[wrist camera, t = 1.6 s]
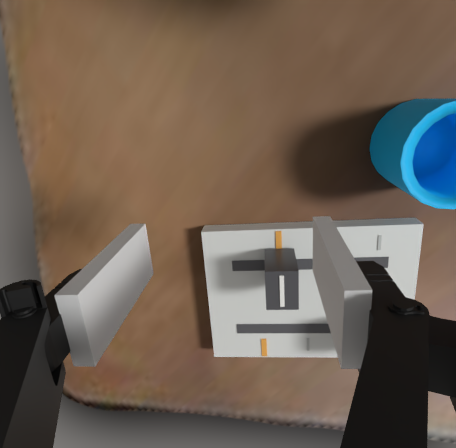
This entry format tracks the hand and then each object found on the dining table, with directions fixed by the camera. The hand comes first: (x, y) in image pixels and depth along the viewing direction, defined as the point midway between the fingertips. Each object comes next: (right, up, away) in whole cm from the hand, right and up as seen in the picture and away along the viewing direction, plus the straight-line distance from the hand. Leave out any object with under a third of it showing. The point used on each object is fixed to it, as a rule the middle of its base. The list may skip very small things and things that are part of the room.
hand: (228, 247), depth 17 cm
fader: (+5, -3, +20) cm, 21 cm away
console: (+9, -6, +23) cm, 25 cm away
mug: (+20, +8, +17) cm, 27 cm away
